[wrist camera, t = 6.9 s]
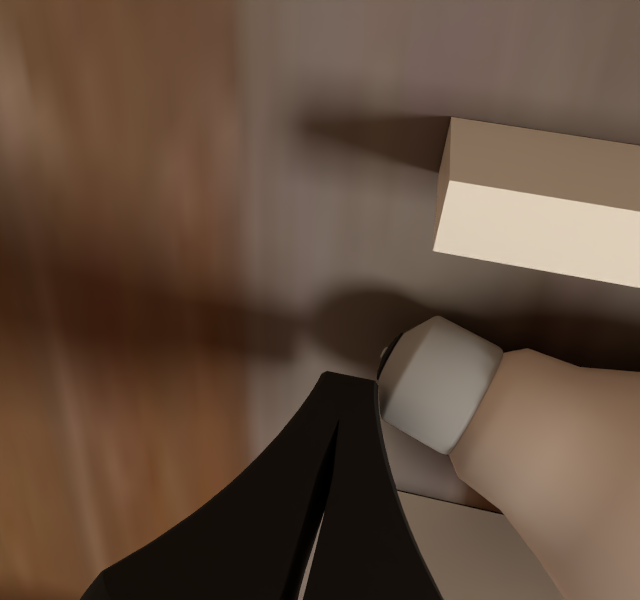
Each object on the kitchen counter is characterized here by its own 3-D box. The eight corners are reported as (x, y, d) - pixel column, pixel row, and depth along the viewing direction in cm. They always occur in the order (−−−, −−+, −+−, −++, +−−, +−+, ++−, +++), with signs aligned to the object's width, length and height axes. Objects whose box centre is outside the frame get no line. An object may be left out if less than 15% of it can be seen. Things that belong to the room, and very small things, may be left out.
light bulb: (273, 535, 12) (843, 917, 9) (404, 254, 9) (1242, 673, 7) (371, 403, 18) (739, 616, 15) (468, 208, 15) (932, 423, 13)
